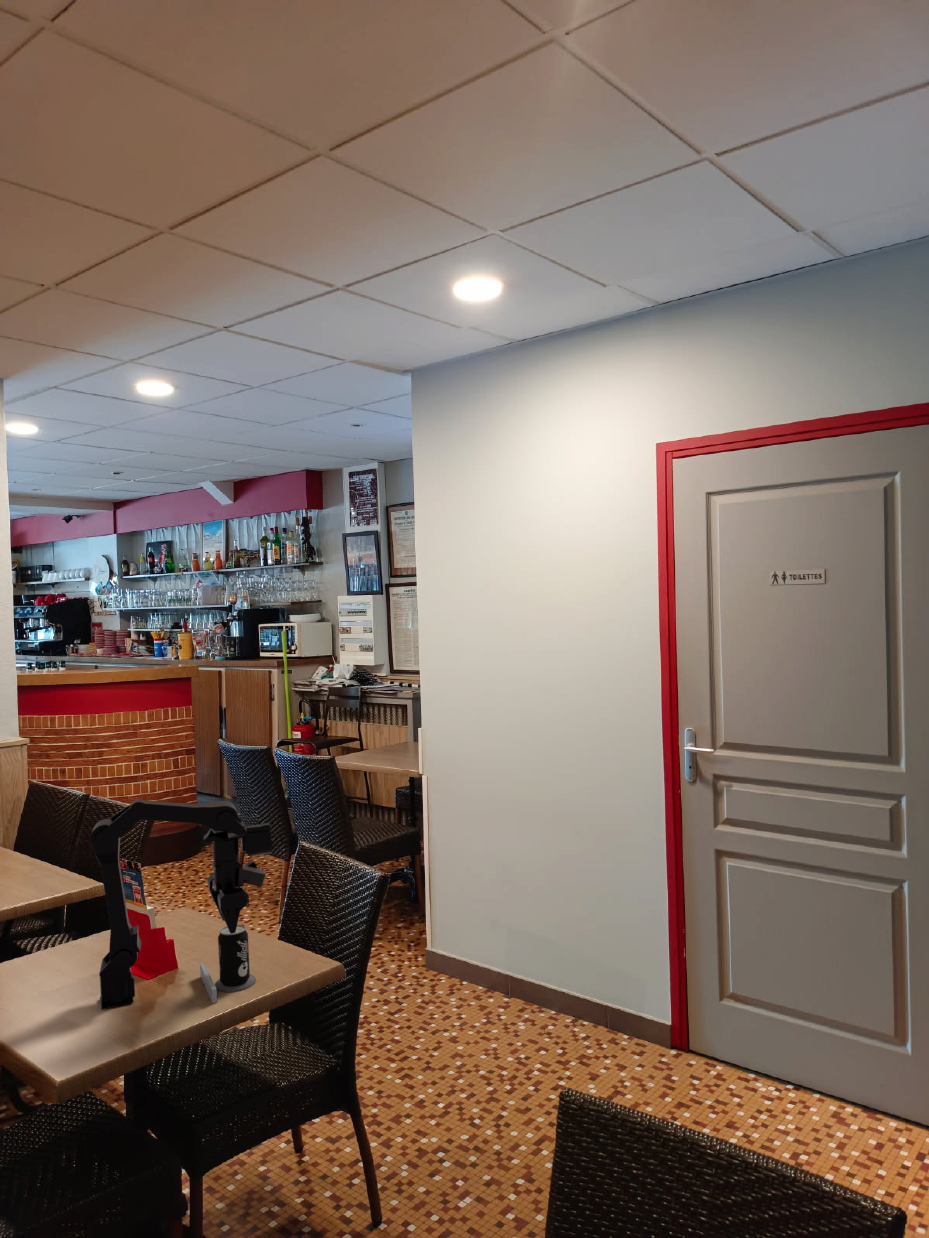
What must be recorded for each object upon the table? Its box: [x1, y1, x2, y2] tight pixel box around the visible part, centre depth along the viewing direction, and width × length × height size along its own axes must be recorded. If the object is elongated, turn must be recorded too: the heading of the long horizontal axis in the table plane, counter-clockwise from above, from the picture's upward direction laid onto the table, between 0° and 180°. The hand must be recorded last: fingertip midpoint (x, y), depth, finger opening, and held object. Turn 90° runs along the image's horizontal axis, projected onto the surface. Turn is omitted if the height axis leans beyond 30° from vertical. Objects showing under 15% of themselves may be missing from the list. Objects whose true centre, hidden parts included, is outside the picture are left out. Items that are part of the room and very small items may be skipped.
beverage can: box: [217, 924, 250, 987], centre depth 204 cm, size 7×7×12 cm
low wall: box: [199, 962, 218, 1004], centre depth 202 cm, size 1×16×3 cm, turn 25°
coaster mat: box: [214, 974, 257, 993], centre depth 204 cm, size 9×9×1 cm
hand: (229, 926), depth 205 cm, fingers open, 9 cm apart
